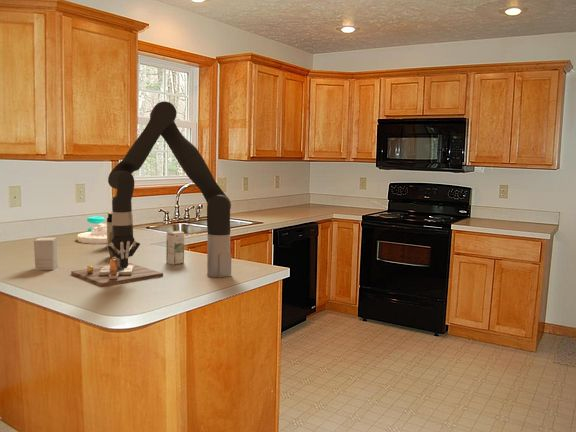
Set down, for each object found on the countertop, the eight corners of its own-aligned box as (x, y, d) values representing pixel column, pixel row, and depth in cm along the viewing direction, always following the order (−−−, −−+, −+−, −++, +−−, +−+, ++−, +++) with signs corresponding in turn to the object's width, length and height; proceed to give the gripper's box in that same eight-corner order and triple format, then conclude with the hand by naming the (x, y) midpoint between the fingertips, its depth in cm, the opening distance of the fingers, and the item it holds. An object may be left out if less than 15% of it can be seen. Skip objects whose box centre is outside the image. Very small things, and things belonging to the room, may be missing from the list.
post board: (163, 276, 210) (163, 258, 209) (102, 286, 191) (101, 267, 190) (130, 265, 227) (129, 249, 227) (71, 274, 209) (70, 256, 208)
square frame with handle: (103, 268, 214) (103, 251, 213) (134, 268, 216) (133, 251, 215) (96, 279, 195) (96, 260, 194) (129, 278, 198) (129, 260, 197)
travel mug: (125, 245, 276) (125, 212, 274) (119, 248, 268) (119, 213, 266) (111, 244, 277) (110, 211, 275) (104, 247, 269) (104, 213, 267)
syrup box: (176, 261, 239) (176, 230, 237) (184, 263, 235) (184, 231, 234) (166, 263, 235) (166, 231, 233) (174, 265, 231) (174, 232, 229)
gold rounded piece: (94, 273, 205) (94, 266, 205) (88, 274, 204) (88, 267, 203) (91, 272, 207) (91, 265, 207) (86, 273, 205) (86, 266, 205)
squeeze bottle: (129, 257, 246) (128, 219, 244) (113, 259, 240) (112, 220, 238) (120, 254, 251) (119, 217, 249) (104, 256, 245) (104, 219, 243)
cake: (78, 245, 275) (77, 227, 274) (76, 237, 301) (76, 221, 299) (133, 243, 286) (132, 226, 285) (127, 235, 312) (126, 219, 311)
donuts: (102, 218, 309) (85, 217, 308) (102, 234, 310) (85, 234, 309) (106, 216, 319) (89, 216, 318) (106, 232, 320) (89, 232, 319)
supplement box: (58, 266, 222) (57, 237, 221) (53, 270, 215) (52, 240, 214) (39, 266, 221) (38, 237, 220) (34, 270, 214) (33, 240, 212)
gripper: (135, 220, 204) (136, 263, 206) (101, 223, 196) (103, 268, 198) (143, 223, 198) (144, 267, 200) (108, 226, 190) (110, 272, 192)
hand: (123, 267), depth 199 cm, fingers closed
